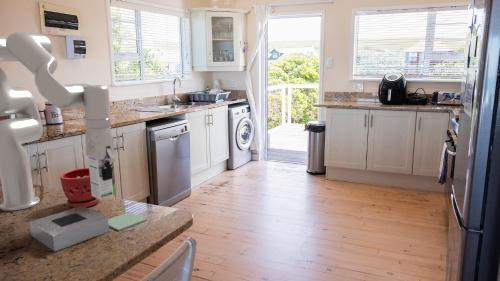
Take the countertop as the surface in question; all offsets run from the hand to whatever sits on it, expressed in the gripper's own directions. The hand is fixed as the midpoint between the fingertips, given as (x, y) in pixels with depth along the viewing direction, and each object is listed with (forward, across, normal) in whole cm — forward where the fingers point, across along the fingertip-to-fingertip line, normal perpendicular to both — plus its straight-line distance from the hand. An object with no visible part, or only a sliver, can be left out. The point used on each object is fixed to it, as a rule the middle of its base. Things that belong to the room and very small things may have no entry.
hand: (102, 176), depth 127 cm
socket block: (+13, +6, -14) cm, 21 cm away
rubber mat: (+13, +11, 0) cm, 17 cm away
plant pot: (+14, -16, 0) cm, 21 cm away
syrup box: (+7, 0, 0) cm, 7 cm away
